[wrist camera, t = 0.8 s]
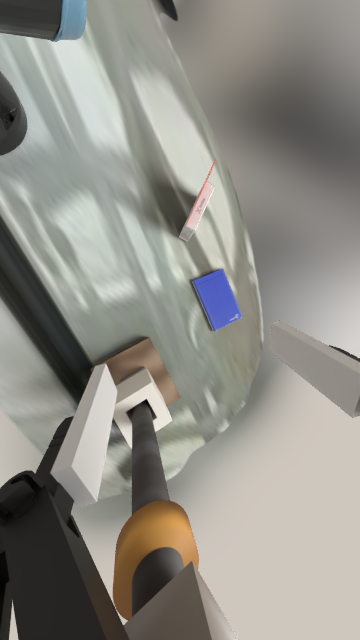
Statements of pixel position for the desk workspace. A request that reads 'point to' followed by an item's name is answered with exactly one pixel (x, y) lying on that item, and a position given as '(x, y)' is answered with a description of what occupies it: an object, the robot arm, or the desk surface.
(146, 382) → the sleeve
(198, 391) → the desk surface
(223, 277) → the hard drive
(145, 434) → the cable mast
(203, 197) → the ink cartridge box
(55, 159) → the desk surface
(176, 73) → the desk surface
